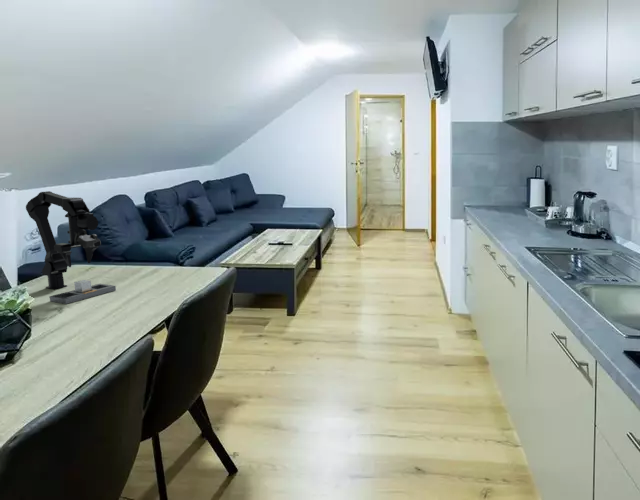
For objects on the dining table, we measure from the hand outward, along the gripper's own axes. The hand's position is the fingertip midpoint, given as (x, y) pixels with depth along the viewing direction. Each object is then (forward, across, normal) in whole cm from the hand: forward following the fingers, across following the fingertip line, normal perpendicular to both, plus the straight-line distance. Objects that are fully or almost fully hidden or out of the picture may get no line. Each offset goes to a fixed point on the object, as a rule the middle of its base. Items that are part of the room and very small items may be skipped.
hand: (79, 265), depth 247 cm
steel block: (+11, -5, -8) cm, 15 cm away
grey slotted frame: (+11, -5, -8) cm, 15 cm away
